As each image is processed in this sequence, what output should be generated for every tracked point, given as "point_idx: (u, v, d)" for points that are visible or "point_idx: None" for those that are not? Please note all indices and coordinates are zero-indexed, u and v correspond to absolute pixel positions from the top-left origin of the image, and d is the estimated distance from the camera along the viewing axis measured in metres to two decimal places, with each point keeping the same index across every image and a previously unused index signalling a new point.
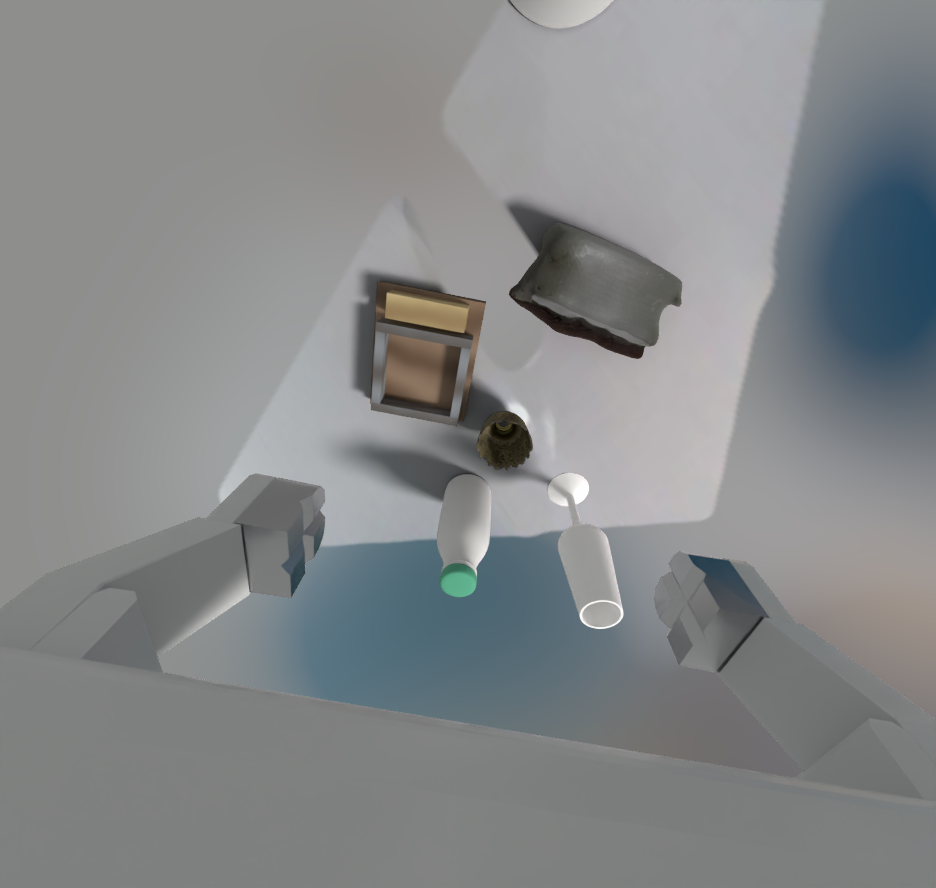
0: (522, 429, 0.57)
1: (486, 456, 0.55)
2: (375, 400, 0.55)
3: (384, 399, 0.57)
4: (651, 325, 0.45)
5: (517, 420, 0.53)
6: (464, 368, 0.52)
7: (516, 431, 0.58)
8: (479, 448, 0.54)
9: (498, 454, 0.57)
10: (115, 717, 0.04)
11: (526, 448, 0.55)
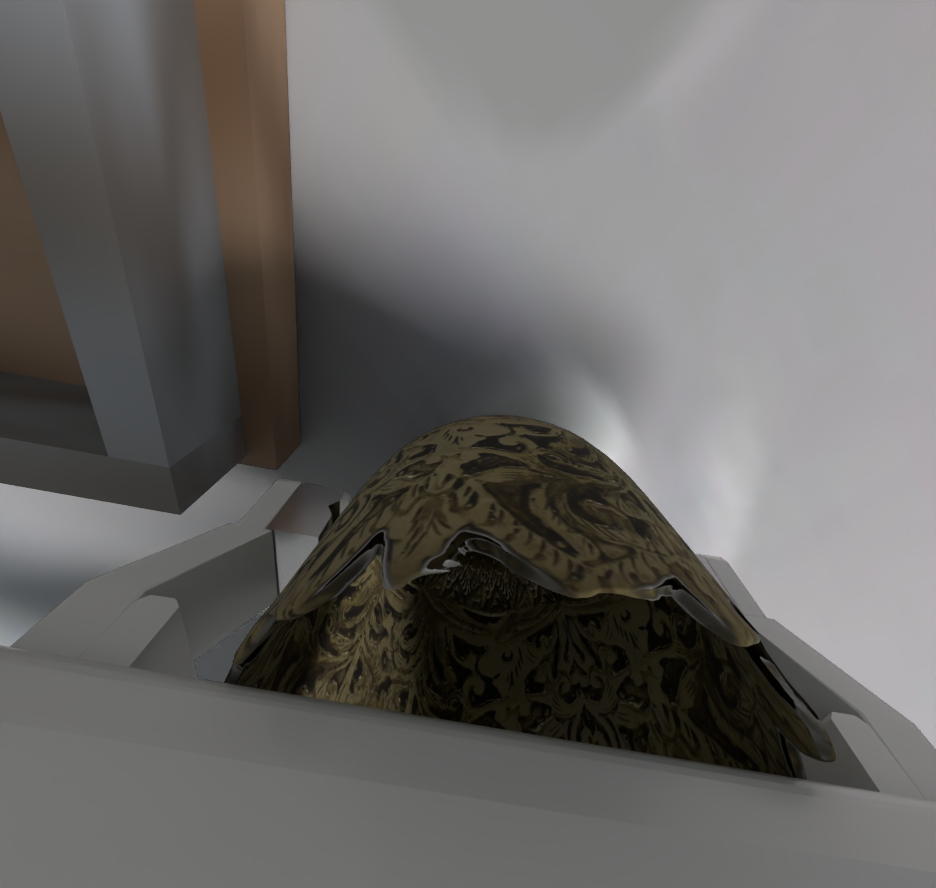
0: None
1: None
2: None
3: None
4: None
5: (637, 516, 0.05)
6: None
7: None
8: None
9: (464, 680, 0.09)
10: (114, 718, 0.04)
11: (672, 704, 0.07)
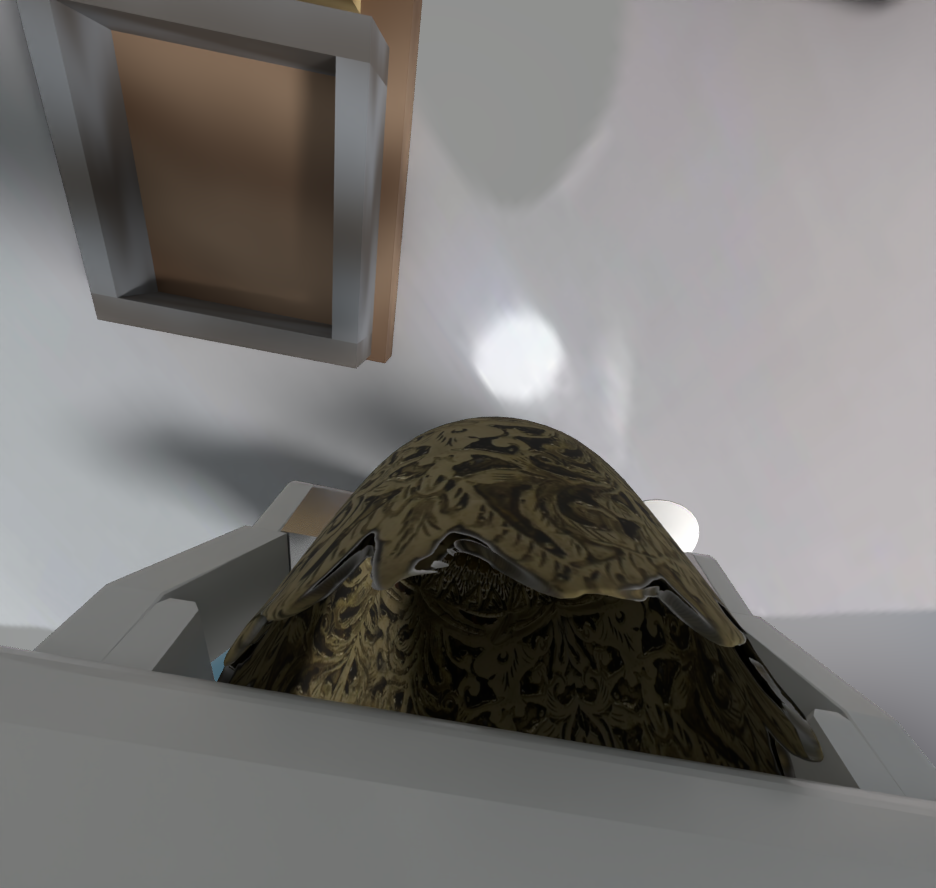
0: None
1: None
2: (100, 286, 0.18)
3: (150, 294, 0.20)
4: None
5: (627, 517, 0.05)
6: (357, 152, 0.15)
7: None
8: None
9: (459, 681, 0.09)
10: (114, 718, 0.04)
11: (665, 704, 0.07)
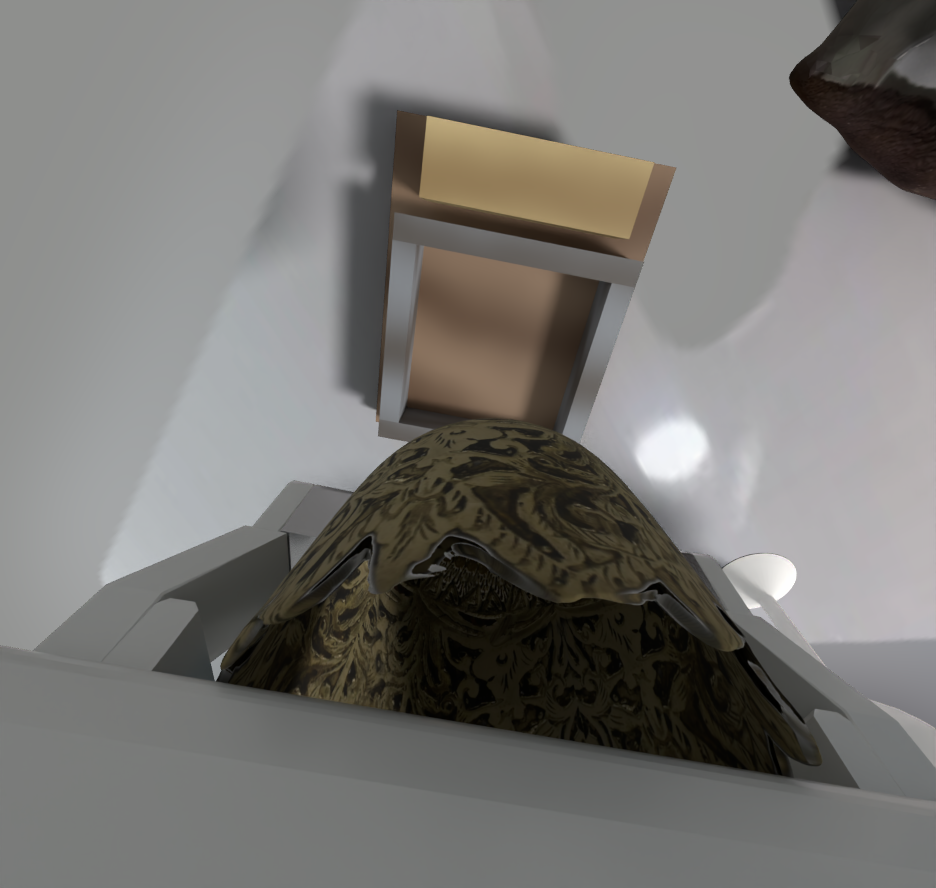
0: None
1: None
2: (388, 415, 0.24)
3: (407, 412, 0.26)
4: None
5: (626, 520, 0.05)
6: (610, 338, 0.21)
7: None
8: None
9: (458, 683, 0.09)
10: (115, 716, 0.04)
11: (665, 707, 0.07)
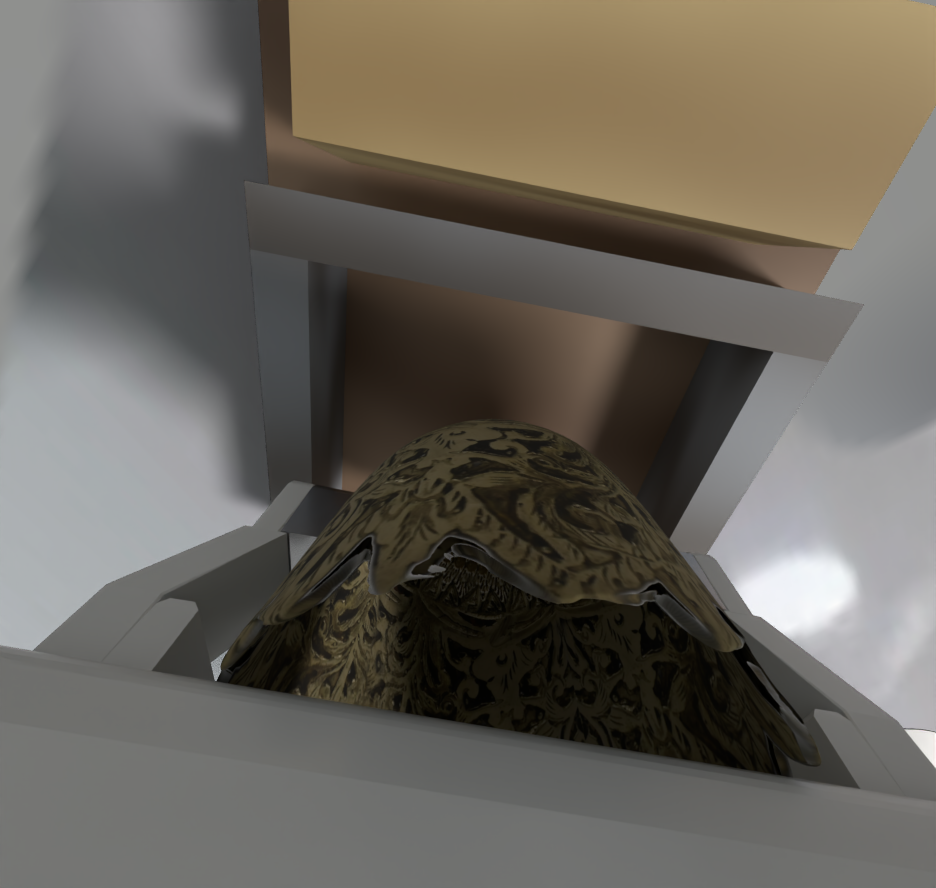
0: None
1: None
2: None
3: None
4: None
5: (625, 520, 0.05)
6: (750, 463, 0.10)
7: None
8: None
9: (458, 683, 0.09)
10: (115, 718, 0.04)
11: (664, 707, 0.07)
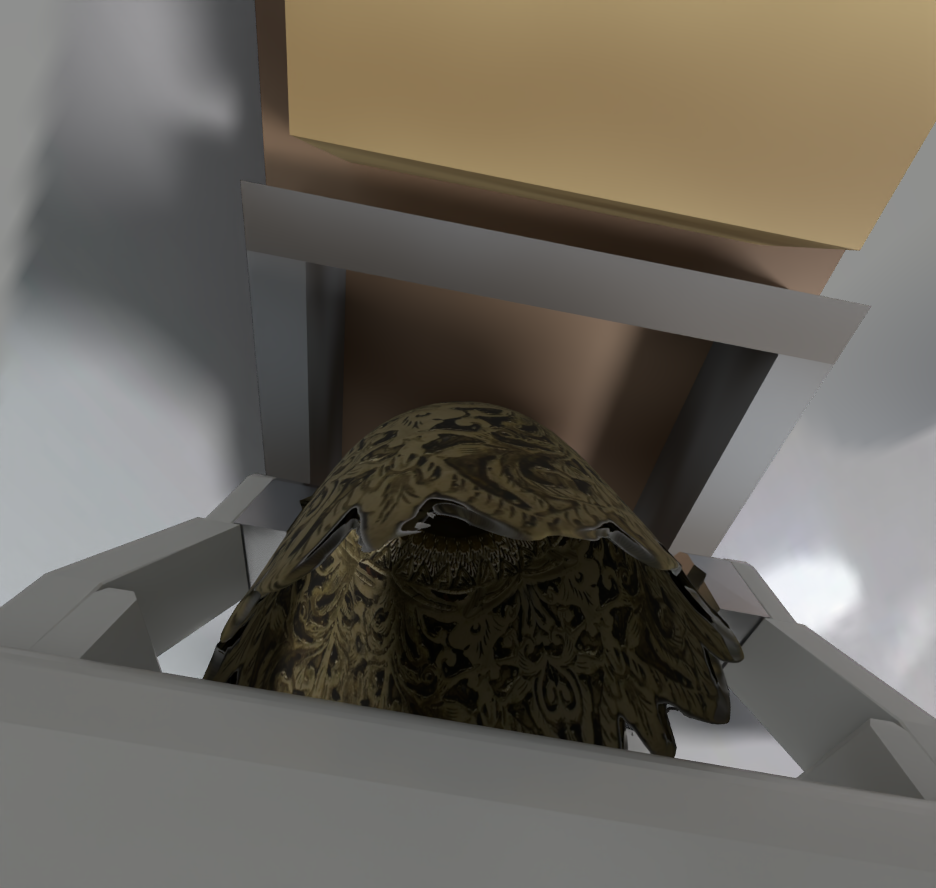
0: None
1: None
2: None
3: None
4: None
5: (580, 478, 0.06)
6: (754, 467, 0.10)
7: None
8: None
9: (436, 654, 0.10)
10: (115, 717, 0.04)
11: (622, 646, 0.08)
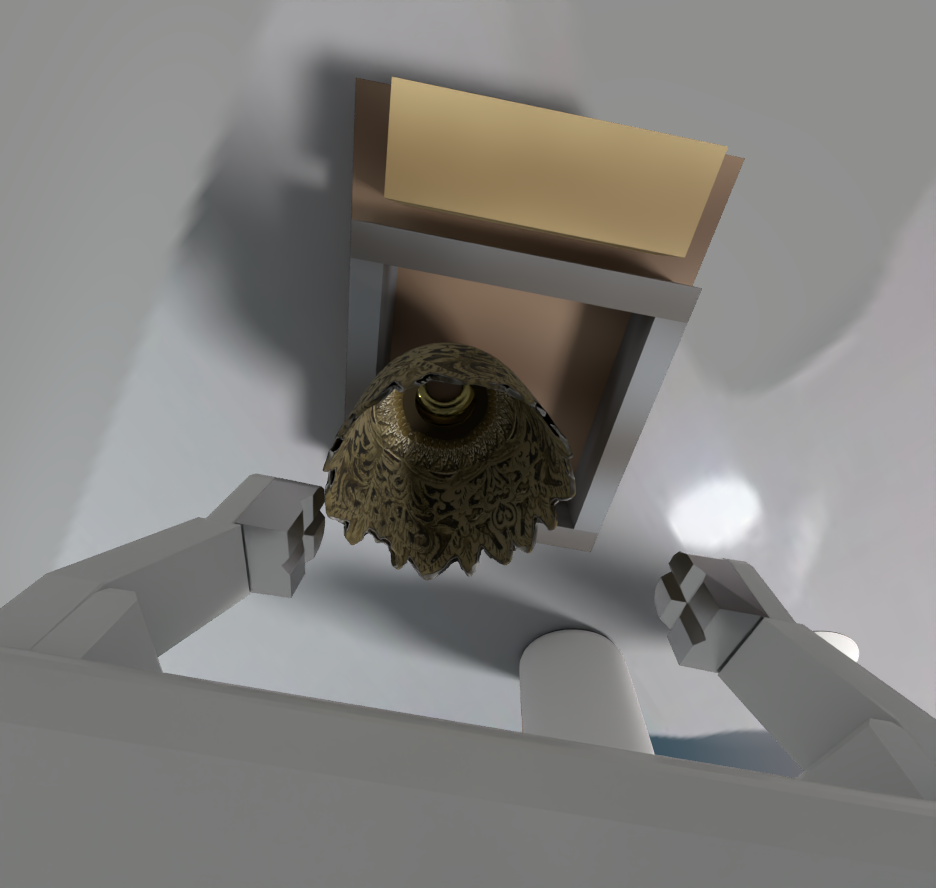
0: (511, 408, 0.16)
1: (384, 527, 0.14)
2: None
3: None
4: None
5: (501, 373, 0.12)
6: (651, 389, 0.16)
7: (489, 415, 0.17)
8: (342, 508, 0.12)
9: (433, 503, 0.16)
10: (115, 717, 0.04)
11: (538, 482, 0.14)
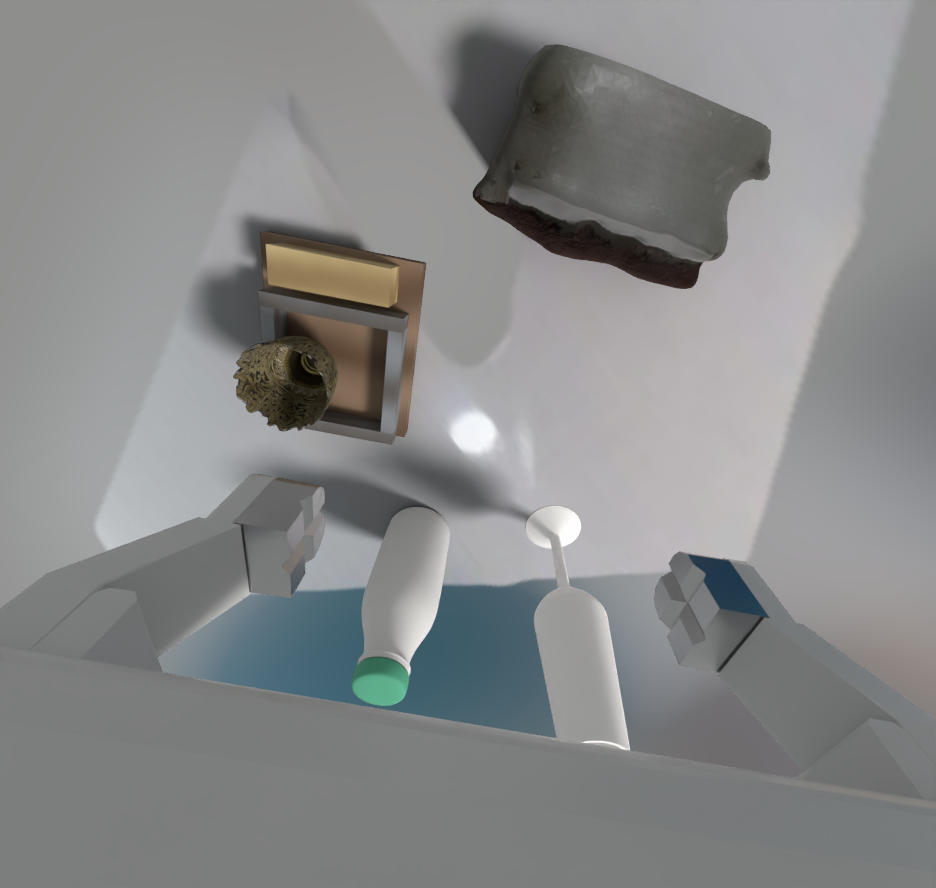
0: None
1: (268, 411, 0.34)
2: None
3: None
4: (716, 218, 0.26)
5: (298, 343, 0.31)
6: (395, 362, 0.35)
7: None
8: (245, 397, 0.32)
9: (298, 409, 0.36)
10: (115, 717, 0.04)
11: None
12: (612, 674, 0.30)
